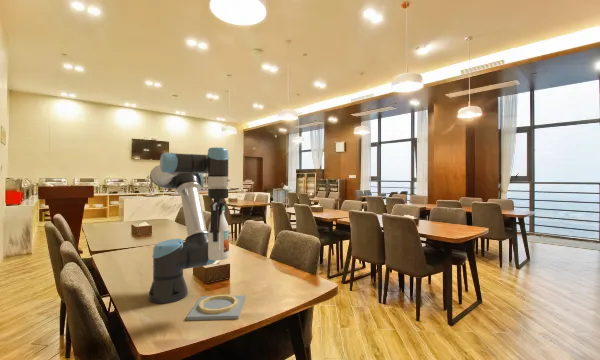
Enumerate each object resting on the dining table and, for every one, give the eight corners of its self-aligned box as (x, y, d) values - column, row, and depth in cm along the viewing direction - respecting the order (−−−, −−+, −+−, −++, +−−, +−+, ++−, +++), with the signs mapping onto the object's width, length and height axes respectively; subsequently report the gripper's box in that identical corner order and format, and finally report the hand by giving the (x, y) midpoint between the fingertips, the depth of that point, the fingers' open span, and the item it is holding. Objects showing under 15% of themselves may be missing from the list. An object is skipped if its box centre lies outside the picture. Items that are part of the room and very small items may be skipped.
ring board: (186, 320, 102) (186, 313, 102) (201, 299, 120) (201, 293, 120) (238, 318, 103) (238, 312, 103) (245, 298, 121) (245, 292, 121)
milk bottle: (218, 262, 106) (217, 207, 106) (203, 259, 111) (203, 206, 111) (233, 257, 113) (233, 205, 113) (219, 254, 117) (219, 205, 117)
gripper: (222, 188, 102) (222, 254, 102) (233, 187, 122) (233, 241, 122) (200, 188, 101) (200, 254, 101) (214, 187, 122) (215, 242, 122)
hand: (218, 247), depth 112 cm, fingers closed on milk bottle, 8 cm apart
